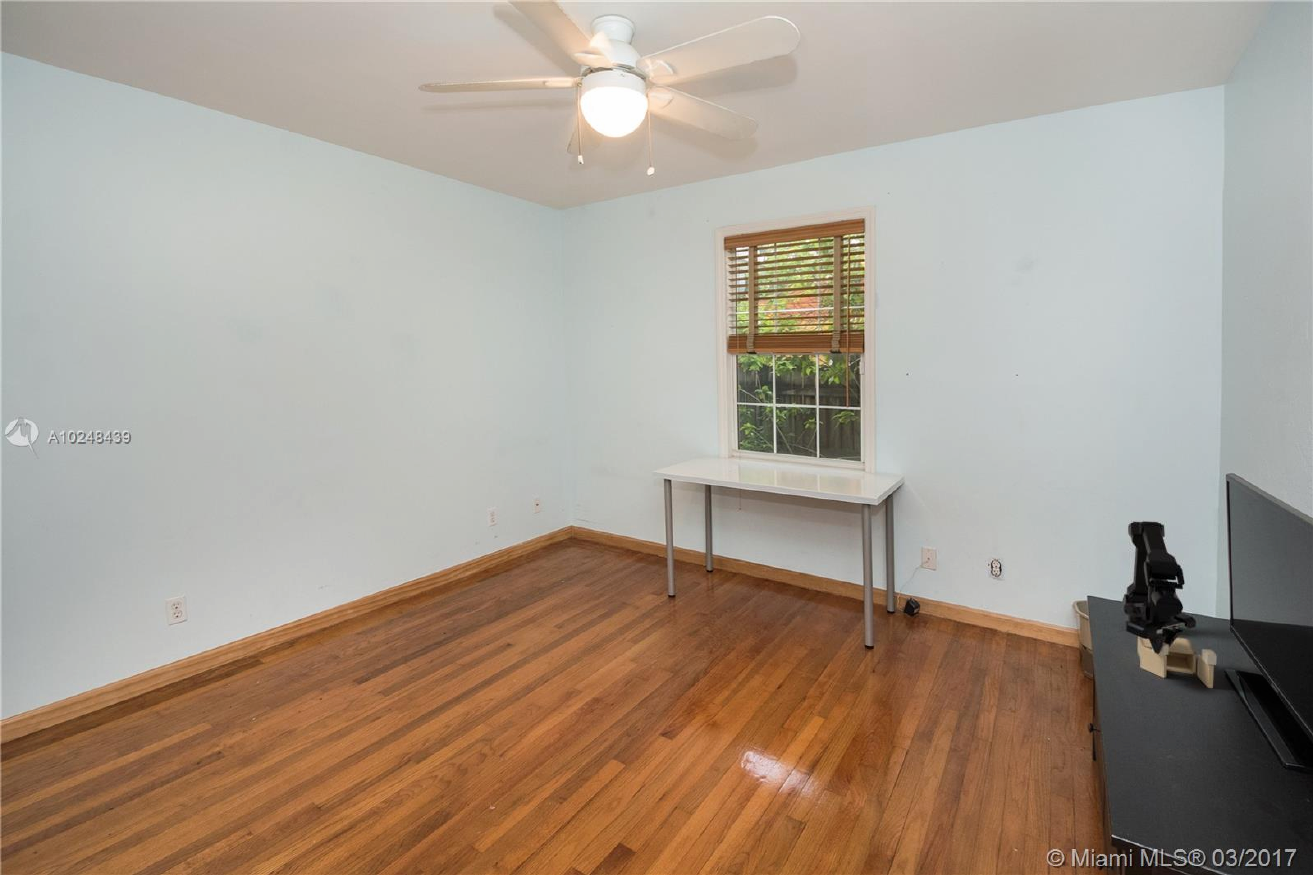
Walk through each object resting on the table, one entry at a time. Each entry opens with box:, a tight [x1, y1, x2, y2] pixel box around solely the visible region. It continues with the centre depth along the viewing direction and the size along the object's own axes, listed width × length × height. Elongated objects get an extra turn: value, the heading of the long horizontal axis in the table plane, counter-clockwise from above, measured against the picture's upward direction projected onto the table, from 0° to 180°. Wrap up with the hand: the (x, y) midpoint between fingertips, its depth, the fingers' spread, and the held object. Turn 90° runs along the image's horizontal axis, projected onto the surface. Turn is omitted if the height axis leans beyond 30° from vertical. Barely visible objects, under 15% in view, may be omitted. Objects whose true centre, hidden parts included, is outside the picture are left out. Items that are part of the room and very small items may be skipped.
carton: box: [1137, 636, 1197, 675], centre depth 180 cm, size 9×12×7 cm
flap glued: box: [1139, 643, 1169, 679], centre depth 175 cm, size 2×6×10 cm, turn 16°
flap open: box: [1196, 648, 1217, 689], centre depth 169 cm, size 2×6×10 cm, turn 159°
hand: (1160, 652), depth 174 cm, fingers closed on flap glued, 2 cm apart
